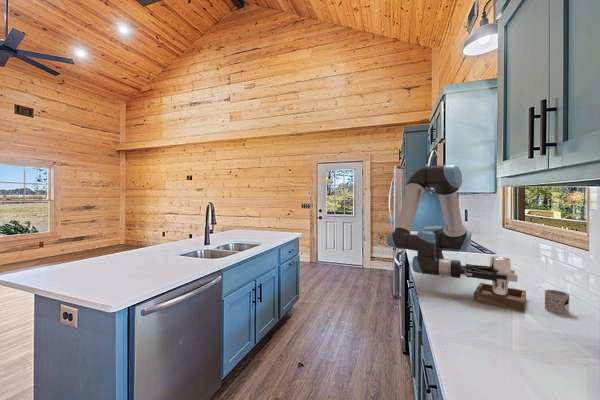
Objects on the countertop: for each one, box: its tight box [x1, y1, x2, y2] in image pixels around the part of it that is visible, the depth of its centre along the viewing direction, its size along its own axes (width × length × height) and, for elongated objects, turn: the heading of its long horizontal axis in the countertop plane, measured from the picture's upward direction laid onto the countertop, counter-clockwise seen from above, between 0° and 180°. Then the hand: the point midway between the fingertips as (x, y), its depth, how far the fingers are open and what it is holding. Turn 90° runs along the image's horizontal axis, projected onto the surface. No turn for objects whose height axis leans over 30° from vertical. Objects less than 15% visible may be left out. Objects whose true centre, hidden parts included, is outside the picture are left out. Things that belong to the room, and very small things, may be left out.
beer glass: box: [489, 256, 512, 297], centre depth 114 cm, size 7×7×15 cm
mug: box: [544, 289, 570, 315], centre depth 106 cm, size 10×7×7 cm
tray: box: [473, 282, 527, 313], centre depth 115 cm, size 16×16×4 cm
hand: (515, 275), depth 112 cm, fingers open, 7 cm apart
